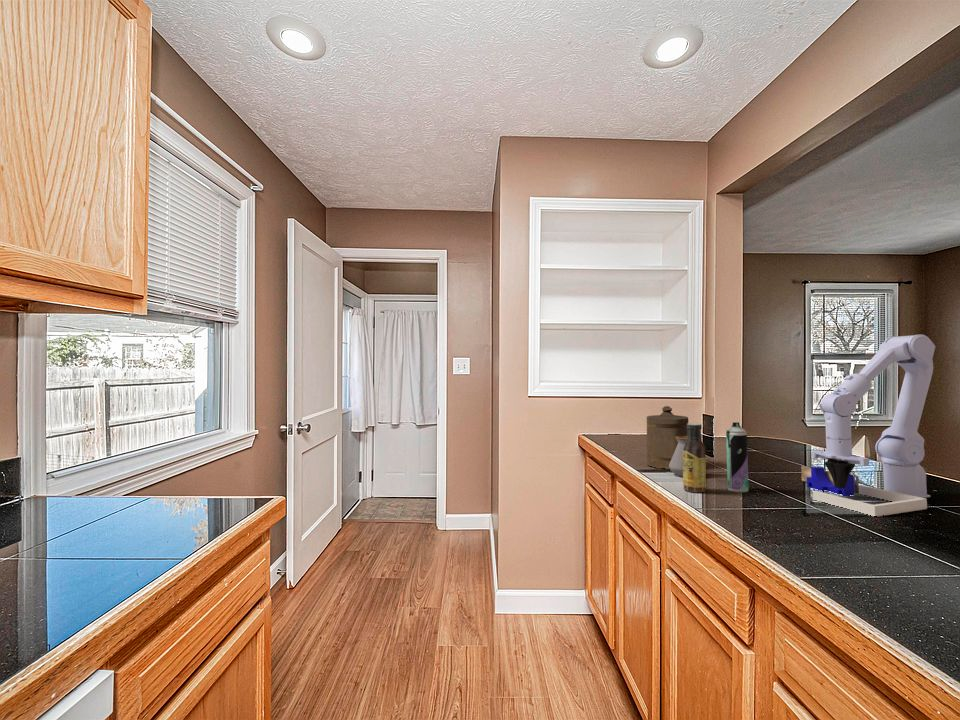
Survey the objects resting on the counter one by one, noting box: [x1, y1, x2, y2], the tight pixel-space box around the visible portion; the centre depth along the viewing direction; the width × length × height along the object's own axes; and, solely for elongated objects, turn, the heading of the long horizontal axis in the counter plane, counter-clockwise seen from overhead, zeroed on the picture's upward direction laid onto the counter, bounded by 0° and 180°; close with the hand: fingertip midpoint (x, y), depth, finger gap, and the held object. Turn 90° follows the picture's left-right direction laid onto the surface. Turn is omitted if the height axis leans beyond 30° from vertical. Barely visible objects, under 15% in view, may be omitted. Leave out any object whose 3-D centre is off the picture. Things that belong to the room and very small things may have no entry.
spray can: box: [725, 421, 750, 493], centre depth 149 cm, size 6×6×20 cm
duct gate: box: [800, 465, 855, 493], centre depth 151 cm, size 16×1×4 cm, turn 17°
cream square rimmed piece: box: [812, 475, 928, 517], centre depth 132 cm, size 18×18×5 cm
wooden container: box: [646, 405, 689, 470], centre depth 187 cm, size 15×15×22 cm
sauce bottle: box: [682, 422, 707, 493], centre depth 149 cm, size 7×6×20 cm
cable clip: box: [806, 466, 855, 497], centre depth 145 cm, size 12×4×6 cm, turn 5°
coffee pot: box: [669, 436, 687, 478], centre depth 166 cm, size 21×12×15 cm, turn 168°
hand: (840, 488), depth 138 cm, fingers closed
